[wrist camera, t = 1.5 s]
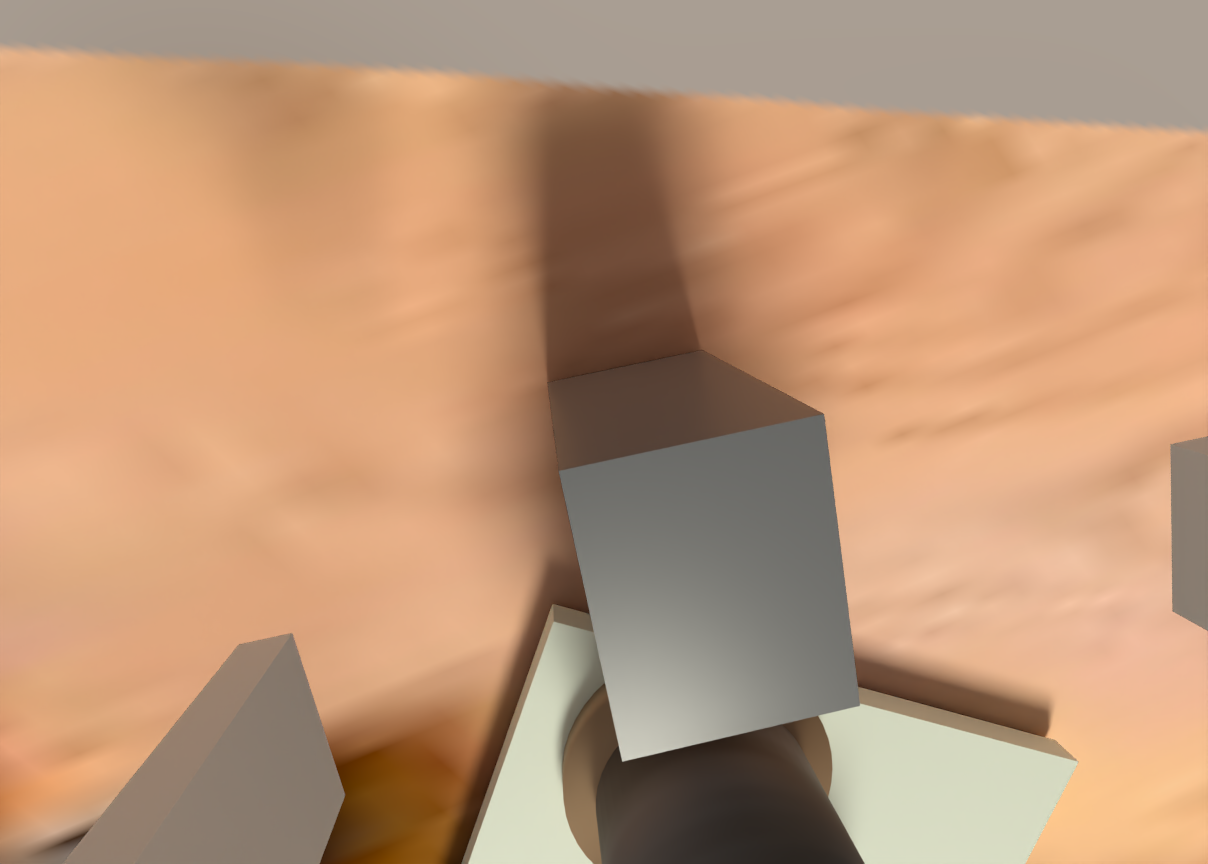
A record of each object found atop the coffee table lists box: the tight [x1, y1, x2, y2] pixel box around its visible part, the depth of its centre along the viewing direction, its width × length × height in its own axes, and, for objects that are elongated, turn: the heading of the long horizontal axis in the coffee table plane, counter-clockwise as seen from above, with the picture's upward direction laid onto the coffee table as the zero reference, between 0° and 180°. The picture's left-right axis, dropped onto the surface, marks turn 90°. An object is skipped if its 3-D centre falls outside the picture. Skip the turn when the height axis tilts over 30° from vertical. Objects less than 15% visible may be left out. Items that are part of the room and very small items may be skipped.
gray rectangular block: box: [547, 350, 860, 762], centre depth 15 cm, size 4×5×8 cm
